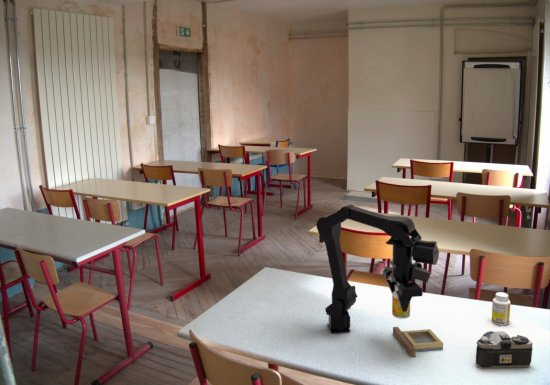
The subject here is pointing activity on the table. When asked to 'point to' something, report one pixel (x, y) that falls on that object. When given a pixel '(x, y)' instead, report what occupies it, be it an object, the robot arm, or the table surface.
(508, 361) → the camera
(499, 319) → the supplement bottle
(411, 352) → the door edge rail
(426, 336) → the plate
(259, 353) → the table surface
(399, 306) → the supplement bottle
